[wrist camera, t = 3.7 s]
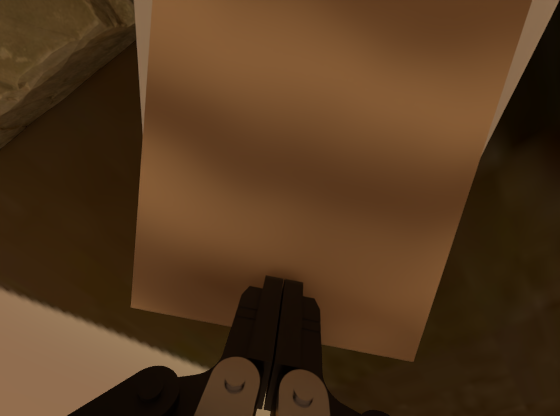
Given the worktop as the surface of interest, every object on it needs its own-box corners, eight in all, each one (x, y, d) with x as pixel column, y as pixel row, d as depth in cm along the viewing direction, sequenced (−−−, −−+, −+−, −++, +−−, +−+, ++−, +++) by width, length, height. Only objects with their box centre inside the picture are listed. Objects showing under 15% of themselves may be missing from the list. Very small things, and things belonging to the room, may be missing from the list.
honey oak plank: (180, -87, 10) (161, -126, 9) (514, -29, 10) (551, -60, 9) (148, 289, 13) (131, 307, 12) (400, 337, 13) (413, 361, 12)
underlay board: (134, -418, 8) (100, -510, 7) (690, -332, 8) (765, -411, 7) (161, 225, 18) (149, 238, 17) (406, 271, 18) (414, 288, 17)
